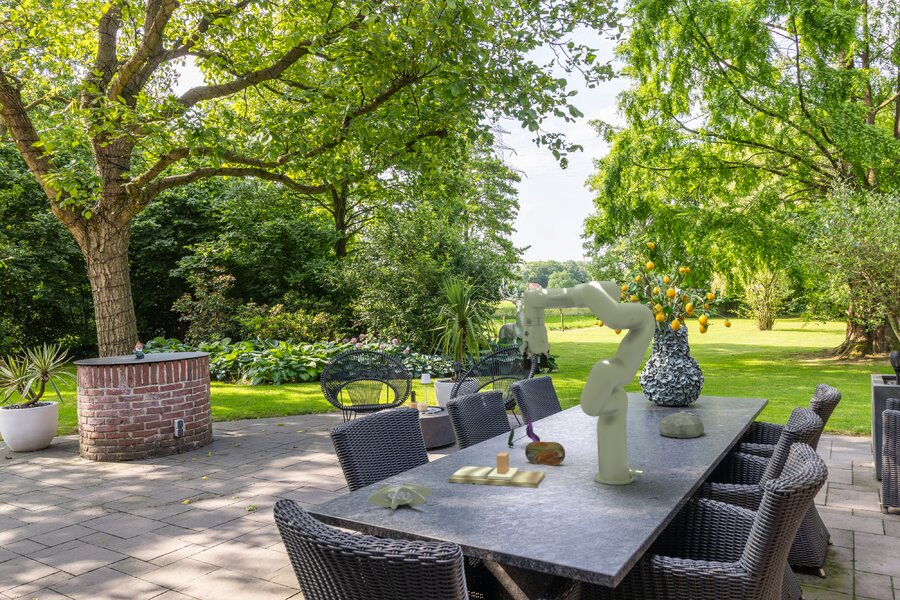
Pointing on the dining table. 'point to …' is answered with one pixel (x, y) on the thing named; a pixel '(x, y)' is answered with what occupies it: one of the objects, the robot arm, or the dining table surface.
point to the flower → (528, 431)
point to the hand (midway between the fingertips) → (535, 368)
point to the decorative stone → (681, 425)
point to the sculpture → (393, 503)
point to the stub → (503, 468)
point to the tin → (545, 453)
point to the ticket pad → (481, 477)
